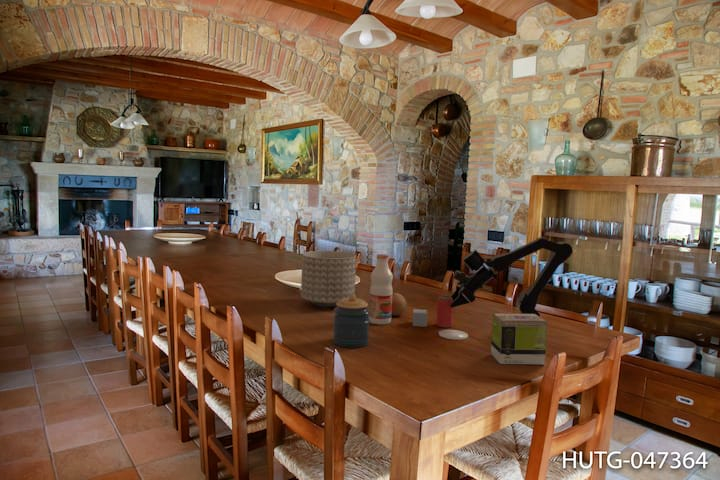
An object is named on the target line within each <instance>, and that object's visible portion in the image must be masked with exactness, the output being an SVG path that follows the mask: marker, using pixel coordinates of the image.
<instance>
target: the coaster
mask: <svg viewBox="0 0 720 480" xmlns="http://www.w3.org/2000/svg"><path fill="white" fill-rule="evenodd" d="M438 336H439V337H441V338H442V339H447V340H453V341H454V340H455V341H460V340H466V339H468V337H469V335H468V333H466V332H465V331H462V330H457V329H442V330H439V331H438Z"/></svg>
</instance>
